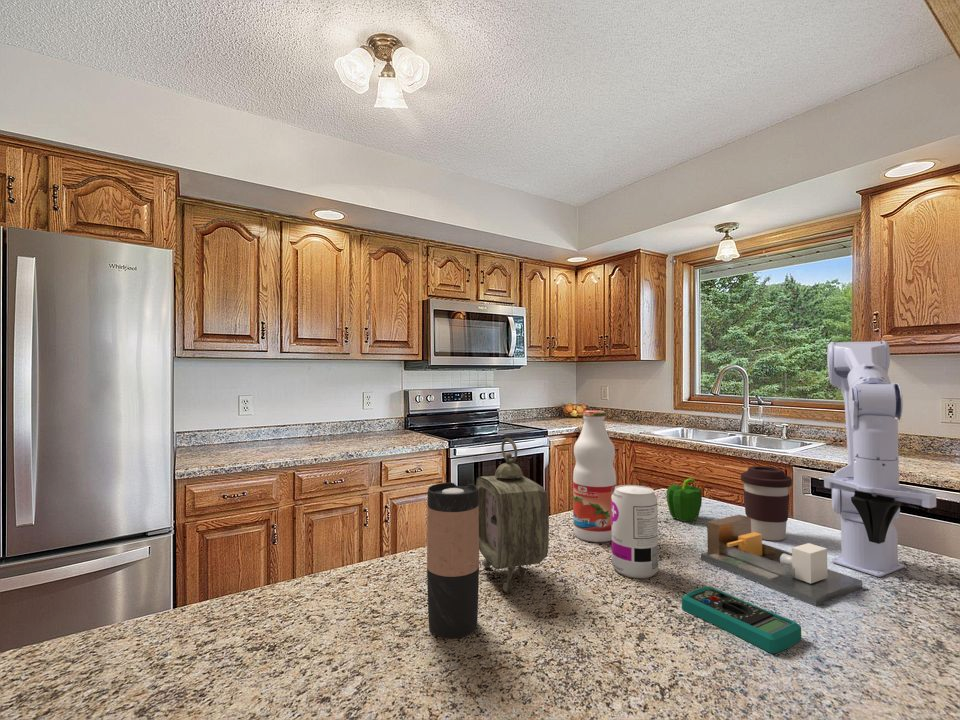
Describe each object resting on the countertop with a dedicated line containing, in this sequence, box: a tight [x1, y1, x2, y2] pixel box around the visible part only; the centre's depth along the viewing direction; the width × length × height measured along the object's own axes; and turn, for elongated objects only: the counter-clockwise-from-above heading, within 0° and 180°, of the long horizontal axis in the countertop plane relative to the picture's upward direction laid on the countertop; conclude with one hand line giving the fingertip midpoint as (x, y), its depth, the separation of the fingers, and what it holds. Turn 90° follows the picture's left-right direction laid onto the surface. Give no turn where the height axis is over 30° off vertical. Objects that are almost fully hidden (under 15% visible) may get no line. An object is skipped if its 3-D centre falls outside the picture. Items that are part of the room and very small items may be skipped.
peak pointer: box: [727, 532, 763, 556], centre depth 93 cm, size 2×9×4 cm, turn 117°
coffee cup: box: [740, 465, 793, 542], centre depth 109 cm, size 10×10×15 cm
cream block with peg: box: [780, 542, 828, 584], centre depth 86 cm, size 6×5×5 cm
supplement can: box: [611, 484, 659, 579], centre depth 91 cm, size 8×8×15 cm
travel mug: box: [426, 482, 480, 639], centre depth 71 cm, size 8×8×20 cm
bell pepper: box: [666, 477, 703, 522], centre depth 122 cm, size 8×8×10 cm
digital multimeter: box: [681, 586, 802, 655], centre depth 72 cm, size 7×15×3 cm, turn 30°
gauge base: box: [700, 514, 863, 607], centre depth 89 cm, size 21×14×7 cm, turn 28°
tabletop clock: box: [475, 437, 550, 593], centre depth 88 cm, size 14×9×25 cm, turn 18°
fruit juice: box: [572, 409, 617, 543], centre depth 110 cm, size 9×9×28 cm
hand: (876, 541), depth 79 cm, fingers closed
